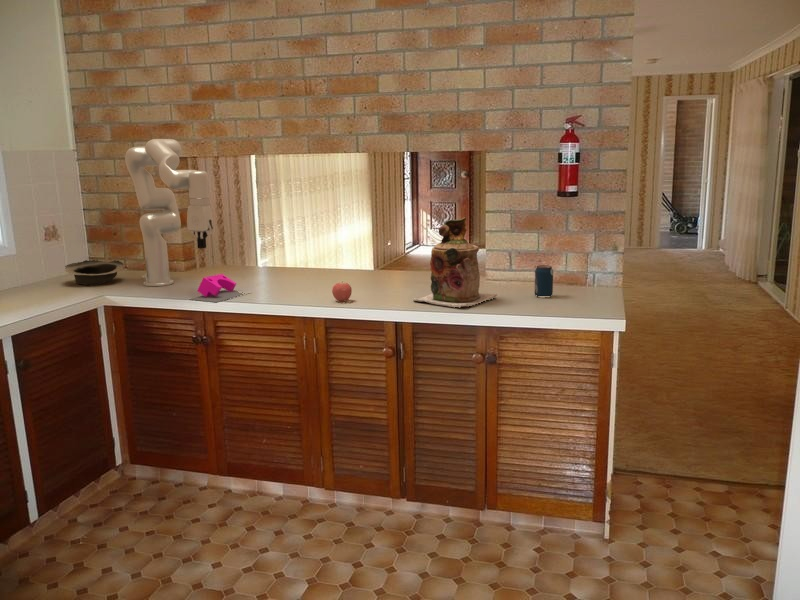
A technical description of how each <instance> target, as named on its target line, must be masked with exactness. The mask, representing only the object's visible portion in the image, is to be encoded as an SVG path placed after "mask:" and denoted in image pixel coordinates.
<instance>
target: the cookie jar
mask: <svg viewBox="0 0 800 600" xmlns="http://www.w3.org/2000/svg"><path fill="white" fill-rule="evenodd" d="M466 219H467V218H466V217H463V218H461V219H449V220H447V221H445V222H444V224H443V225H441V226H439V228H438V234H439V236H440V237H442V239H441V241H440V242H438V243H437V244H436V245H434V247H432V248H431V253H430V255H431V257H430V261H429V263H430V271H431V273H430V274H431V275H430V280H431V284H430V291H431V293H429V294H428V295H425V296H423V297H418V298H416V297H415V298H412V301H413V302H426V303H429V304H432V305H438V306H445V307H449V308H450V307H452V308H455V307H459V308H458V309H460V308H461V307H469V306H472V305H474V306H476V305H475V304H477V305H479V304H478V303H480V304H482V303H481V302H483V301H485V302H487V301H486V300H489V299H492V298H495V297H496V298H497V296H498V293H486V292H485V293H480V292H479V290H480V282H481V281H480V279H481V276H480V275H481V274H480V270H479V261H478V260H479V259H478V252H479V250H480V247H479V246H477V245H474V244H472V243H469V242H468V241H467V240H466V239H465V236H466V232H467V231H468V230H467V228H466V226H467V224H466ZM492 300H493V299H492ZM489 301H490V300H489ZM483 303H484V302H483ZM472 307H473V306H472Z"/></svg>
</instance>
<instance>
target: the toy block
mask: <svg viewBox="0 0 800 600" xmlns="http://www.w3.org/2000/svg"><path fill="white" fill-rule="evenodd" d="M236 285H237V282H235V281H234V280H232V279H230V277H227V276H226V275H224V274H223V273H221V274H215V275H209V276H205V277H204V276H203V278H202V280H201V282H200V284H199V285H198V288H197V290H196V292H198V293H199V294H201V296H202V295H204V296H205V297H207V296H211V295H212V294H213V295H218V294H219V292H220V291H222V289H223V290H228V291H230V292H231V291H233V290H235V287H236Z"/></svg>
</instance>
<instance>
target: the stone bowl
mask: <svg viewBox="0 0 800 600" xmlns="http://www.w3.org/2000/svg"><path fill="white" fill-rule="evenodd" d="M64 269H65V270H64V271H65V272H66V273H68V274H69V275H70V274H71V275H73V276H74V280H75V282H76V284H78V285H84V286H92V285H93V286H95V285H103V284H104V283H107V282H109V281H112V280H113V279H115V278H116V277H117V276H118V272H119V271H122V270H123V269H124V263H123V262H121V261H120V260H115V259H114V260H112V261H103V260H98V259H91V260H87V259H85V260H83V261H78V262H73V263H68V264H67V265H64Z"/></svg>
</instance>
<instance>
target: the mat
mask: <svg viewBox="0 0 800 600" xmlns="http://www.w3.org/2000/svg"><path fill="white" fill-rule="evenodd" d="M237 290H238V289H236V290H235V289H233V291H231V292H230V291H228V290H226V289H223V290H222V289H221V290H220V292H219V294H218V295H213V294H212V295H211V296H207V297H205V296H204V295H202V294H201V295H200V296H195V297H192V298H191V297H190V298H188V300H189V301H196V302H197V301H198V302H206V303H208V302H209V303H219V302H220V301H221V302H223V300H224V301H227V300H226V299H228V300H231V299H234V298H233V297H235V298H238V297H237V296H239V297H241V296H240V295H242V296H244V295H243V294H242V293H243V292H242V293H239V292H238V291H239V290H238V291H237ZM244 294H245V293H244ZM230 298H231V299H230ZM221 302H220V303H221Z"/></svg>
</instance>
